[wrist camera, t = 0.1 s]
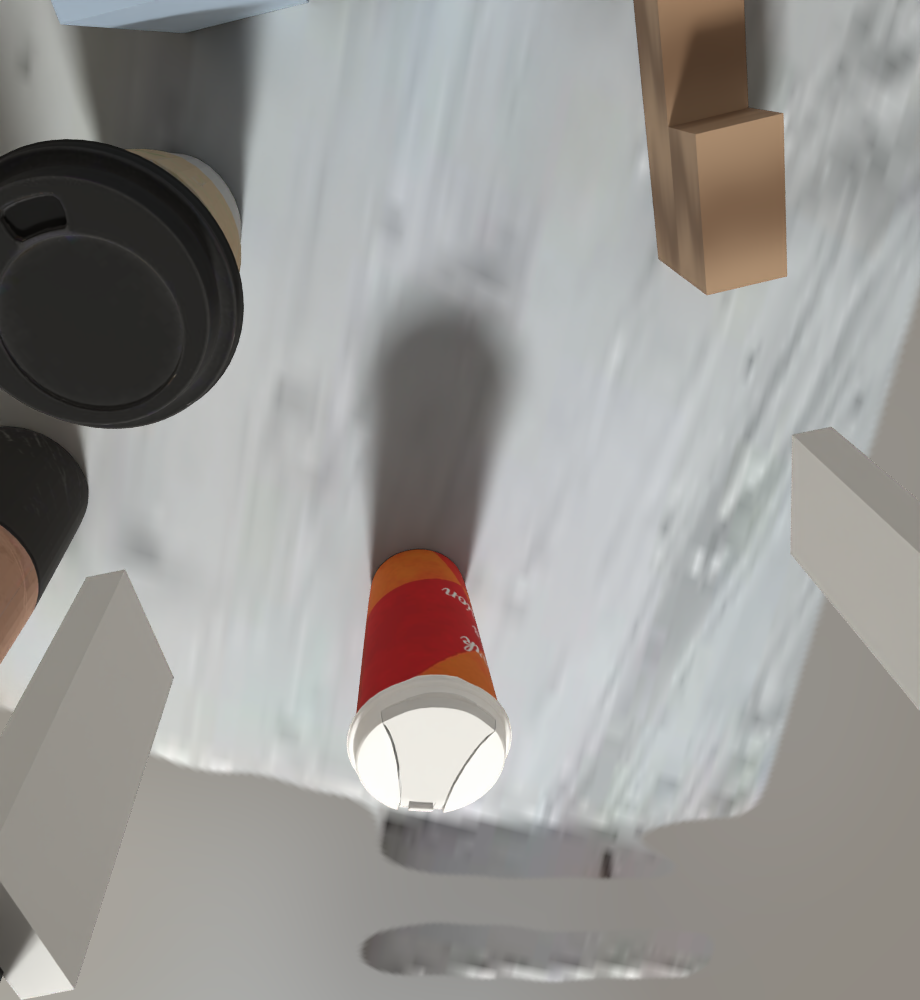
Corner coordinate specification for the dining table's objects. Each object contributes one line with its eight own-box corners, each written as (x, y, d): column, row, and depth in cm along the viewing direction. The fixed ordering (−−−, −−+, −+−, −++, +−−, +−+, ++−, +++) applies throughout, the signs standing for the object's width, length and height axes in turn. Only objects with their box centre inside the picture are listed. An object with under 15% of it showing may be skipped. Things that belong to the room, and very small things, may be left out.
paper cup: (468, 644, 53) (497, 826, 40) (345, 633, 51) (336, 818, 39) (493, 538, 49) (532, 702, 37) (361, 523, 48) (357, 688, 36)
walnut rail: (615, -188, 34) (668, -241, 27) (701, -209, 33) (774, -267, 27) (658, 258, 42) (706, 295, 36) (726, 242, 42) (787, 276, 36)
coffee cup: (158, 61, 36) (35, 69, 23) (322, 224, 40) (296, 310, 27) (29, 219, 39) (-148, 308, 26) (195, 358, 42) (114, 498, 29)
